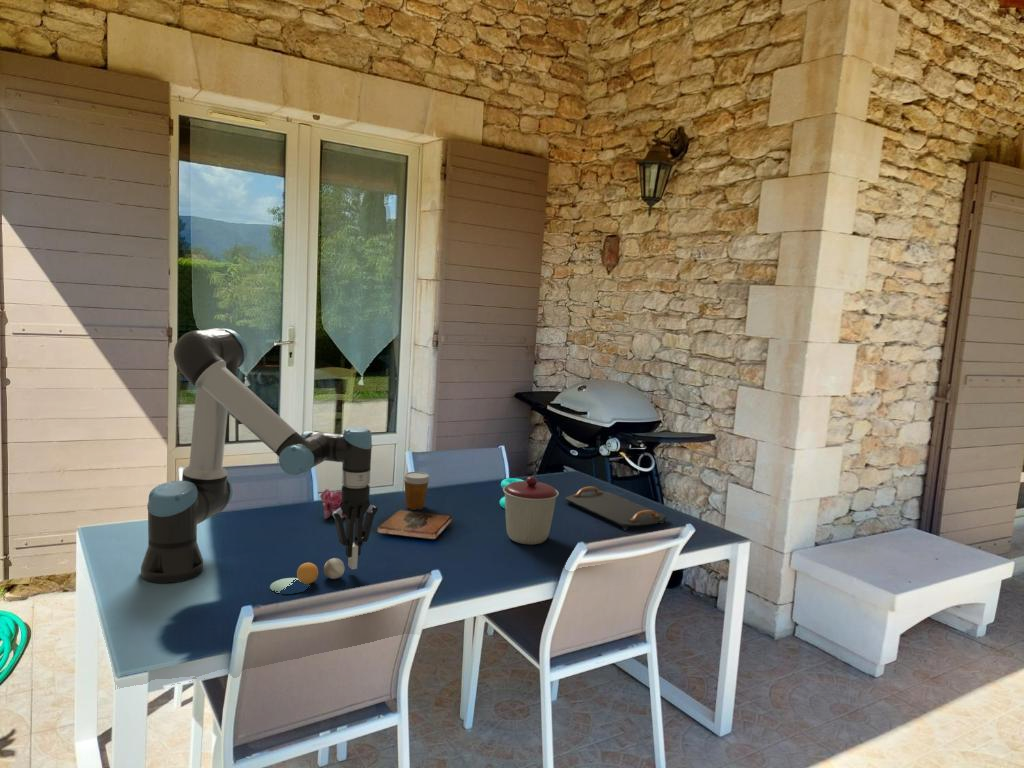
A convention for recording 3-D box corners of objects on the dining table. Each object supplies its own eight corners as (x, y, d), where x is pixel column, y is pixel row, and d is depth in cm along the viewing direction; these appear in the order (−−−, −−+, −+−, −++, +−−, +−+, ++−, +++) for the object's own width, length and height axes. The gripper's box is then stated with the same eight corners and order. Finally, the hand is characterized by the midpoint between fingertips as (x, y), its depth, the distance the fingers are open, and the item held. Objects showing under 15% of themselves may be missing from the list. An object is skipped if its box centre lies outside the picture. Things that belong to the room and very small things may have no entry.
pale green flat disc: (264, 583, 188) (264, 582, 188) (301, 575, 194) (301, 575, 194) (277, 598, 180) (277, 597, 180) (315, 589, 186) (315, 589, 186)
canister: (529, 554, 221) (534, 488, 218) (488, 537, 233) (492, 474, 230) (565, 541, 234) (571, 479, 231) (524, 525, 246) (529, 466, 243)
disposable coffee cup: (415, 501, 264) (417, 469, 263) (433, 507, 258) (435, 475, 257) (396, 506, 257) (397, 474, 255) (414, 513, 251) (416, 480, 249)
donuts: (499, 477, 268) (525, 477, 270) (497, 502, 270) (523, 503, 272) (503, 484, 259) (530, 485, 260) (501, 511, 260) (528, 511, 262)
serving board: (673, 526, 258) (675, 509, 257) (627, 535, 245) (628, 518, 244) (602, 496, 290) (603, 481, 289) (557, 502, 276) (558, 487, 276)
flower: (352, 524, 245) (354, 507, 238) (323, 529, 241) (324, 511, 234) (347, 498, 252) (349, 480, 245) (318, 502, 248) (319, 484, 242)
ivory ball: (342, 560, 198) (330, 577, 196) (329, 551, 194) (316, 568, 193) (352, 568, 194) (339, 585, 192) (338, 559, 190) (325, 577, 189)
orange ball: (301, 583, 192) (289, 570, 189) (317, 568, 194) (305, 555, 191) (309, 591, 187) (297, 578, 185) (325, 575, 189) (313, 562, 187)
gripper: (338, 491, 187) (335, 576, 190) (383, 485, 195) (380, 567, 198) (327, 483, 193) (324, 566, 196) (371, 478, 201) (368, 558, 204)
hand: (352, 567), depth 197 cm, fingers closed
